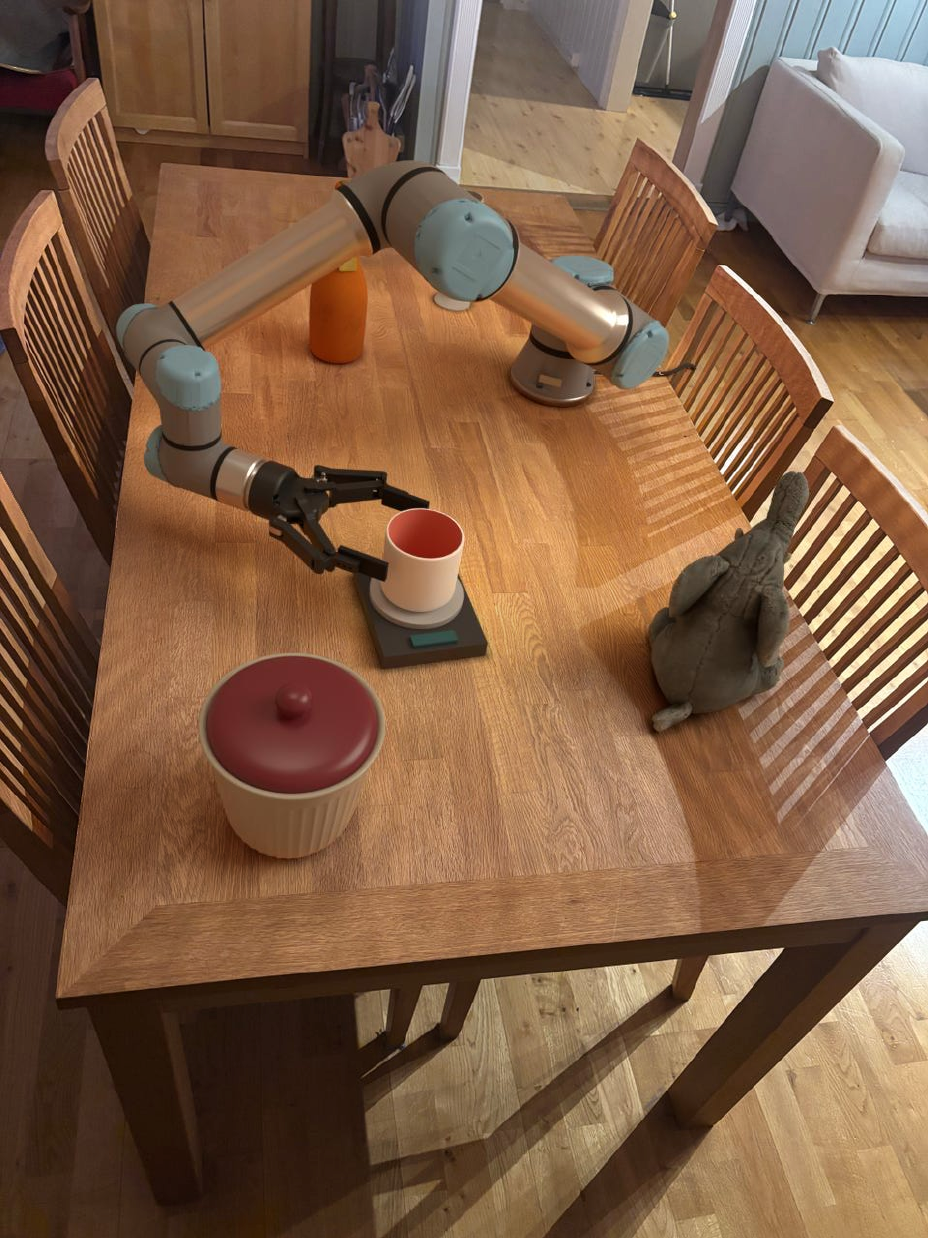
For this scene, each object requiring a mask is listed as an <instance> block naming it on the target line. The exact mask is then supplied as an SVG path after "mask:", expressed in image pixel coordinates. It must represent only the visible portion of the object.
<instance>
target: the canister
mask: <svg viewBox="0 0 928 1238" xmlns="http://www.w3.org/2000/svg"><path fill="white" fill-rule="evenodd" d="M200 707H201V708H200V711H199V715H198V719H197V720H198V722H197V734H198V740H199V744H200V748H201V750H202V752H203V755H204V757H205V758H206V760H207V761H208V763H209V764H210V766H211V767H212V770H213V774H214V777H215V782H216V786H217V789H218V794H219V795H220V800H221V803H222V806H223V809H224V813H225V815H226V817H227V820H228V822H229V825H230V826H231V828H232V829H233V831H234V833H235V834H236V836H238V837H239V838H240V839H241V841H242V842H243V843H244V844H246V845H248V846H249V847H250V849H253V850H255V851H257V852H258V853H260V854H264V855H267V856H268V857H274V858H277V859H287V860H289V859H299V858H303V857H309V856H310V855H312V854H317V853H319V851H321V850H324V849H325V850H326V848H327V847H328V846H329V845H331V844H333V843H335V842H336V840H337V838H339V837H340V836H341V835H342V834H343V833H344V831H345V829H346V828H347V827H348V825H349V824H350V821H351V819H352V818H353V815H354V813H355V811H356V808H357V805H358V803H359V799H360V798H361V794H362V791H363V788H364V785H365V782H366V779H367V777H368V773H369V770H370V768H371V767H372V766H373V764H374V763H375V761H376V759H377V758H378V756H379V754H380V752H381V750H382V747H383V744H384V741H385V736H386V717H385V716H386V715H385V710H384V707H383V705H382V702H381V700H380V698H379V696H378V694H377V693H376V691H375V689H374V688H373V687H372V686H371V684H370V683H369V682H368V681H367V680H366V679H365V678H364V677H362V675H360V674H359V673H358V672H357V671H355V670H354V669H352V668H351V667H349V666H347V665H345V664H344V663H342V662H339V661H337V660H335V659H332V658H330V657H326V656H323V655H319V654H313V653H307V652H294V651H293V652H290V651H289V652H278V653H272V654H271V653H270V654H266V655H263V656H259V657H256V658H253V659H250V660H248V661H246V662H245V661H244V662H243V663H241V664H239V665H238V666H235V667H234V668H233V669H231V670H230V671H228V672H227V673H226V674H224V675H223V676H221V678H219V679H218V680H217V682H216V683H214V685H213V686H212V687H211V689H210V690H209V692H208V693H207V694H206V696H205V698H204V700H203V702H202V704H201V706H200Z"/></svg>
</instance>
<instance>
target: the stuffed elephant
mask: <svg viewBox="0 0 928 1238" xmlns="http://www.w3.org/2000/svg"><path fill="white" fill-rule="evenodd" d="M809 496H810V488H809V482H808V480H807V478H806V475H805V474H804V473H803V471H794V470H789V471H787V472H785V473H784V474H783V475H782V476H781V477H780V478H779V480H778V481H777V482H776V483H775V486H774V488H773V492H772V497H771V500H770V505H769V508H768V510H767V512H766V518H764V519H762V520H760V521H759V522H757V523H755V524H754V525H753V527H751V529H750V530H748V531H747V532H745V533H744V530H743V529H742V527H738V528H736V530H735V532H734V538H733V539H734V540H733V541H731V542H729V543H728V544H727V545H725V546H724V547H723V549H721V550H720V551H719V552H718V553H716V554H714V555H713V554H711V555H705V556H703V557H700V558H697V559H696V560H694V561H692V562H691V563H689V564H687V565H686V566H685V567H684V568H683V570H682V571H680V574H678V576H677V577H676V579H675V581H674V582H673V584H672V586H671V590H670V593H669V594H670V595H669V599H668V606H665V607H662V608H661V609H659V610H658V611H657V612H656V614H655V615H654V617H653V618H652V620H651V622H650V624H649V625H648V627H647V634H648V635H647V637H648V641H649V646H650V648H651V652H650V660H651V664H652V667H653V671H654V674H655V678H656V681H657V683H658V684H657V685H658V686H659V688H660V689H661V692H662V693H663V695H664V697H665V699H666V701H667V702H668V703H669V704H670V705H671V706H669V707H667V708H663V709H662V710H659V711H657V713H655V714H653V716H652V718H651V720H652V722H653V729H654V730H655V731H656V732H660V733H662V732H663V731H665V730H667V729H669V728H671V727H672V726H674V725H677V724H678V723H680V722H683V721H685V720H686V719H688V717H689V716H690V715H691V714H711V713H715V712H719V711H721V710H724V709H726V708H729V707H731V706H733V705H735V704H737V703H738V702H739V701H743V700H745V699H747V698H748V697H752V696H755V695H759V694H762V693H765V692H767V691H770V690H772V689H773V688H775V687H776V686H777V684H778V682H780V681H781V675H782V672H783V669H784V665H785V663H784V661H785V660H784V659H783V658H782V656H781V655H780V647H781V645H783V643H784V640H785V638H786V637H787V633H789V631H790V624H791V613H790V611H791V610H790V604H789V601H788V600H787V597H786V596H785V595H786V594H785V593H784V592H783V588H784V580H785V564H787V563H789V561H790V560H791V559H792V557H793V554H792V553H791V552H787V550H788V549H789V547H790V546H791V543H792V540H793V537H794V533H795V529H796V527H797V524H798V523H797V522H798V520H799V517H800V516H801V513H802V512H803V511H804V509H805V506H806V504H807V503H808V501H809Z"/></svg>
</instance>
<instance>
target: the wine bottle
mask: <svg viewBox="0 0 928 1238" xmlns="http://www.w3.org/2000/svg"><path fill="white" fill-rule="evenodd" d="M347 181H348V180H339V181H337V182H336V183H335V185H334V189H336V188H338V187H339V186H341V185H342V184H344V183H346V182H347ZM368 294H369V293H368V286H367V280H366V276H365V273H364V270H363V266H362V264H361V262H360V259H359V255H357V256H355V257H354V258H352V259H351V260H349V261H347V262H346V263H344V264H343V265H341V266H339V267H338V268H336V269H335V270H333V271H332V272H330V273H328V274H327V275H325V276H324V277H322V278H320V279H319V280H317V281H316V282H314V283H312V284H311V285H310V291H309V312H308V313H309V314H308V315H309V316H308V317H309V319H308V321H309V322H308V338H309V339H308V342H309V348H310V351H311V353H312V354H313V355H314V356H315V357H316V358H318V359H319V360H322V361H324V362H327V363H332V364H347V363H348V364H349V363H351V362H354V361H356V360H357V359H359V358H360V356H361V355H362V353H363V349H364V344H365V336H366V335H365V333H366V325H367V314H368V303H369V302H368V298H369V297H368Z"/></svg>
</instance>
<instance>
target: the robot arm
mask: <svg viewBox="0 0 928 1238" xmlns="http://www.w3.org/2000/svg"><path fill="white" fill-rule="evenodd" d="M346 181H347V182H346V183H344V184H342V185H341V186H339V187H338V188H336V189H335V188H334V189H333V190H331V191H330V196H329V201H328V202H327V203H325V204H324V205H322V206H321V207H319V208H318V209H316V210H314V211H313V212H311V213H310V214H307V215H306V216H305V217H303V218H302V219H300V220H298V221H297V222H295V223H294V224H292V225H291V226H289V227H287V228H286V229H284V230H282V231H281V232H279V233H277V234H276V235H274V236H272V237H271V238H270V239H268V240H266V241H265V242H263V243H261V244H260V245H258V246H256V247H255V248H254V249H252V250H250V251H249V252H247V253H246V254H244V255H242V256H241V257H239V258H237V259H235V260H234V261H232V262H231V263H230V264H227V265H226V266H225V267H223V268H221V269H220V270H218V271H217V272H215V273H213V274H212V275H209V276H208V277H207V278H205V279H203V280H202V281H200V282H199V283H197V284H196V285H194V286H193V287H191V288H189V289H188V290H186V291H185V292H182V293H181V294H180V295H178V296H176V297H175V298H173V299H172V300H170V301H169V302H167V303H165V304H164V305H162V306H160V307H159V306H157V305H156V304H152V303H149V302H145V303H138V304H137V303H136V304H133V305H131V306H129V307H128V308H126V309H125V310H124V311H123V312H121V314H120V316H119V318H118V320H117V323H116V326H115V332H116V333H115V334H116V338H117V342H118V343H119V345H120V347H121V349H122V351H123V353H124V357H125V359H126V360H127V361H128V362H129V363H130V364H131V365H132V367H133V368H134V370H136V372H137V374H138V376H139V377H140V378H141V380H142V382H143V384H144V385H145V387H146V388H147V390H148V392H149V393H150V395H151V396H152V397H153V399H154V400H155V402H156V404H157V406H158V409H159V416H160V421H161V422H160V423H161V424H159V425H158V426H156V427H155V428H154V429H153V430H152V432H151V433H150V435H149V436H148V438H147V440H146V443H145V452H144V453H143V463H144V467H145V469H146V471H147V472H148V474H149V475H150V476H152V477H154V478H156V479H158V480H160V481H162V482H165V483H167V484H169V485H170V486H172V487H173V488H177V489H182V490H185V491H188V492H191V493H193V494H197V495H200V496H203V497H206V498H208V499H211V500H214V501H215V502H219V503H221V504H224V505H227V506H229V507H233V508H235V509H237V510H241V511H243V512H247V513H248V512H250V513H251V514H252V515H253V516H256V517H259V518H261V519H264V520H266V521H268V536H269V537H271V538H272V539H274V540H277V541H279V542H281V543H282V544H283V545H284V546H286V548H288V550H290V551H291V552H292V553H293V554H294V555H295V556H296V557H297V558H298V559H299V560H300V561H301V562H302V563H304V565H306V566H307V567H308V568H309V569H310V570H311V571H312V572H313V573H314V574H315V575H323V574H324V572H325V571H326V572H327V573H332V572H334V571H335V570H336V569H335V568H337V569H340V570H342V571H345V572H348V573H351V574H353V573H355V574H357V573H361V574H364V575H367V576H369V577H372V578H375V579H377V580H380V581H383V582H385V581H386V579H387V573H388V565H389V562H386V561H383V560H382V559H380V558H377V557H375V556H372V555H369V554H366V553H364V552H361V551H359V550H357V549H353V548H350V547H348V546H345V545H342V544H340V545H339V547H338V548H337V549H336V547H335V546H334V544H333V543H332V541H331V540H330V538H329V536H328V535H327V533H326V532H325V530H324V528H322V527H323V526H321V524H320V523H319V522H320V521H321V519H322V516H323V515H324V514H326V513H327V512H328V510H329V509H331V508H332V509H333V508H335V507H337V505H343V504H351V503H360V502H362V503H363V502H369V501H370V502H371V501H378V500H380V505H382V506H385V507H387V508H390V509H393V510H396V511H398V512H402V511H405V510H409V509H416V508H424V509H430V504H431V502H430V500H427V499H424V498H421V497H419V496H415V495H413V494H410V493H409V492H408V491H406V490H404V489H401V488H398V487H396V486H393V485H390V484H388V483H387V482H388V473H387V472H386V471H383V470H367V469H347V468H332V467H328V466H324V465H320V464H316V465H314V466H313V474H312V476H311V477H302V476H301V475H300V474H299V473H298V472H297V471H296V469H294V468H293V467H291V466H289V465H286V464H283V463H280V462H277V461H275V460H268V459H267V458H266V457H264V456H261V455H258V454H257V453H253V452H250V451H247V450H245V449H242V448H239V447H236V446H233V445H230V444H228V443H226V442H223V428H222V389H223V388H222V383H223V382H222V378H221V374H220V367H219V366H220V365H219V363H218V360H217V359H216V357H215V355H213V354H212V353H211V352H210V351H208V350H209V349H210V348H212V347H213V346H216V345H217V344H218V343H220V342H222V341H224V339H226V338H228V337H230V336H231V335H232V334H234V333H236V332H238V331H239V330H241V329H242V328H244V327H245V326H247V325H249V324H250V323H252V322H254V321H255V320H257V319H259V318H260V317H262V316H263V315H265V314H266V313H268V312H269V311H271V310H273V309H274V308H276V307H277V306H279V305H281V304H282V303H283V302H285V301H287V300H289V299H290V298H292V297H293V296H295V295H296V294H298V293H299V292H302V291H303V290H304V289H306V288H308V287H309V286H311V285H312V283H314V282H316V281H317V280H319V279H320V278H322V277H324V276H325V275H327V274H328V273H330V272H332V271H333V270H335V269H336V268H338V267H339V266H341V265H343V264H344V263H346V262H347V261H349V260H351V259H352V258H354V257H355V256H363V257H367V258H370V257H372V256H373V255H375V254H377V253H378V252H380V251H382V250H385V249H393V250H394V251H396V252H397V254H398V255H400V256H401V257H402V258H403V259H404V260H405V262H407V263H408V264H409V265H410V266H411V267H412V268H413V269H414V270H416V272H417V273H419V274H420V276H422V277H423V279H424V280H425V281H426V282H427V283H428V284H429V285H430V286H431V288H433V289H434V290H435V291H436V292H438V293H441V294H443V295H445V296H447V297H449V298H451V299H454V300H457V301H465V302H469V301H470V303H482V302H486V301H488V300H489V301H491V302H492V303H495V304H496V305H498V306H500V307H502V308H504V309H505V310H507V311H509V312H510V313H512V314H514V315H516V316H518V317H520V318H522V319H523V320H525V321H527V322H529V323H530V324H531V325H530V330H529V334H528V338H527V339H526V341H525V343H524V344H523V346H522V348H521V350H520V351H519V353H518V355H517V357H516V358H515V360H514V361H513V364H512V365H511V370H510V376H509V379H510V382H511V384H512V386H513V387H514V389H515V390H517V391H518V392H519V393H520V394H521V395H522V396H524V397H525V398H527V399H529V400H531V401H534V402H536V403H538V404H542V405H545V406H551V407H558V408H559V407H560V408H570V407H575V406H580V405H582V404H584V403H586V402H587V401H588V400H590V399H591V396H592V395H593V391H594V388H595V381H596V380H595V378H596V377H595V375H596V376H603V377H605V378H606V380H608V381H609V383H610V384H611V385H612V386H615V387H616V388H618V389H619V390H622V391H629V390H630V391H631V390H633V389H636V388H638V387H639V386H640V385H642V384H644V383H645V382H647V381H648V380H649V379H650V378H651V377H653V376H656V377H657V376H662V375H660V374H659V372H661V374H664V375H663V376H670V375H671V376H672V375H674V374H676V373H678V372H680V371H682V370H684V369H686V368H690V369H692V370H693V371H696V370H697V367H696V365H695V364H694V363H691V362H686V363H684V364H681V365H679V366H677V367H675V368H673V369H670V370H665V371H657V370H658V369H659V368H660V366H661V365H662V363H663V361H664V359H665V357H666V354H667V353H668V348H669V345H670V335H669V332H668V331H667V329H666V328H665V327H664V326H663V325H662V324H661V322H660V321H659V320H656V319H654V318H653V317H652V316H651V315H649V314H648V313H647V312H646V311H644V310H643V309H642V308H640V306H638V305H637V304H635V303H634V302H633V301H632V300H630V299H629V298H628V297H626V296H625V295H624V294H623V293H621V291H618V290H617V289H616V288H614V287H613V286H612V284H613V281H614V279H615V277H614V274H615V272H614V268H613V267H612V266H611V265H610V264H609V263H607V262H605V261H603V260H601V259H598V258H595V257H591V256H585V255H571V254H569V255H560V256H557V257H554V258H552V259H550V260H548V259H546V258H545V257H544V256H542V255H541V254H539V253H537V252H536V251H534V250H533V249H531V248H530V247H529V246H527V245H525V243H522V242H521V239H520V234H519V232H518V229H517V227H516V226H515V224H513V222H512V221H510V220H509V219H508V218H506V217H505V216H503V215H502V214H500V213H498V211H496V210H494V208H491V207H490V206H488V205H487V204H485V202H484V203H482V202H481V201H479V200H478V199H477V198H475V197H474V196H473V195H471V194H470V193H469V192H467V191H466V190H465V189H466V188H464V187H462V185H460V184H458V183H457V182H456V181H455V180H454V179H452V178H451V177H450V176H449V175H447V173H446V172H444V170H443V169H441V168H439V167H437V166H436V165H433V164H432V163H429V162H426V161H421V160H412V159H411V160H410V159H409V160H408V159H407V160H399V161H393V162H390V163H386V164H383V165H380V166H377V167H375V168H371V169H370V170H367V171H365V172H362V173H361V174H358V175H356V176H354V177H353V178H351V179H349V180H346ZM328 492H329V493H328ZM293 525H298V527H299V529H300V530H301V532H302V533H303V534H302V533H300V532H299V530H297V529H296V528H295V527H294V526H293ZM305 536H306V537H307V538H306V537H305Z"/></svg>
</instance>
